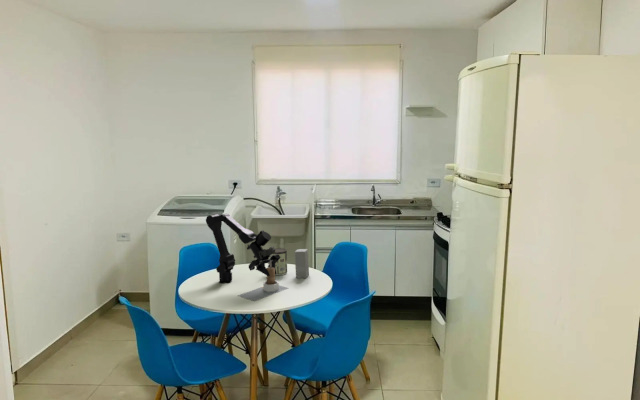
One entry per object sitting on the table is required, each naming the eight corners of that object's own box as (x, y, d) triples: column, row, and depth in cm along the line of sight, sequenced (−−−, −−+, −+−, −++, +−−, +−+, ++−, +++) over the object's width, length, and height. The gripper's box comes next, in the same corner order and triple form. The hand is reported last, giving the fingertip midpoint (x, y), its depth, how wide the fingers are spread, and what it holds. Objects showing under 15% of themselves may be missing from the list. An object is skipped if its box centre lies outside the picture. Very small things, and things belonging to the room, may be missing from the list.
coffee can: (277, 269, 274) (276, 247, 272) (290, 272, 269) (290, 249, 267) (266, 273, 265) (266, 250, 264) (280, 276, 260) (279, 253, 258)
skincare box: (306, 278, 255) (306, 252, 253) (294, 277, 256) (294, 251, 254) (309, 274, 263) (309, 248, 261) (298, 273, 265) (297, 248, 263)
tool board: (254, 303, 216) (253, 294, 216) (236, 297, 224) (236, 289, 224) (289, 289, 235) (289, 281, 235) (272, 285, 244) (271, 277, 243)
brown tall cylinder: (266, 287, 231) (266, 263, 230) (267, 284, 236) (266, 260, 234) (275, 286, 232) (274, 262, 230) (275, 284, 236) (274, 260, 234)
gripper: (251, 245, 227) (266, 270, 221) (277, 239, 240) (292, 262, 235) (242, 258, 233) (256, 282, 227) (268, 251, 247) (282, 274, 241)
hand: (272, 275), depth 232 cm, fingers closed on brown tall cylinder, 4 cm apart
